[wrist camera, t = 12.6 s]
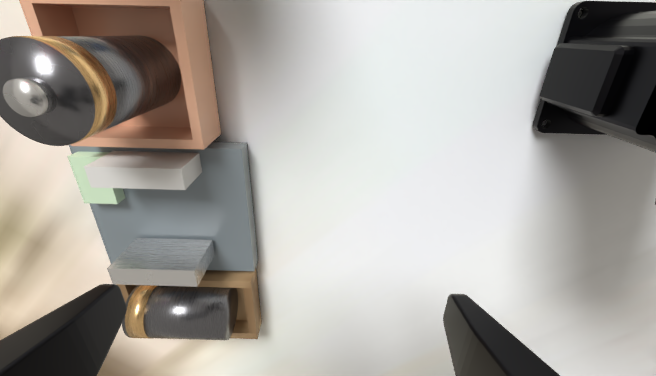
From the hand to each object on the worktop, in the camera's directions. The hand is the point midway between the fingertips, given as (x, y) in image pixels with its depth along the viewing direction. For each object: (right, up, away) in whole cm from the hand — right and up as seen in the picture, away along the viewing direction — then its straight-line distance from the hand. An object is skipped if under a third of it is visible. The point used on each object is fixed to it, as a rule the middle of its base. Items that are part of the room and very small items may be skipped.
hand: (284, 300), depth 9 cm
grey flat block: (-9, +2, +13) cm, 16 cm away
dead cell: (-9, +9, +8) cm, 15 cm away
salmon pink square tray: (-9, +10, +9) cm, 16 cm away
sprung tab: (-9, -1, +12) cm, 15 cm away
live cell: (-9, -5, +16) cm, 19 cm away
